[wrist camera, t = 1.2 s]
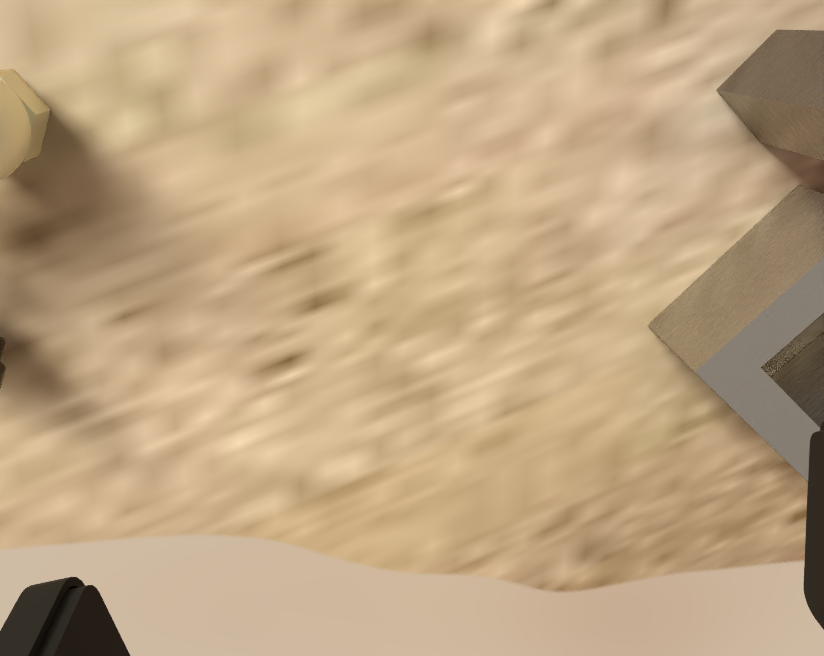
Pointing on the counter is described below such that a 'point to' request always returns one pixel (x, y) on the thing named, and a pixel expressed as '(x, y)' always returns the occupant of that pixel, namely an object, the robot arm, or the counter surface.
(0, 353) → the valve
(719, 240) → the counter surface
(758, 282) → the square sleeve with handle
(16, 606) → the robot arm
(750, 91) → the square peg
